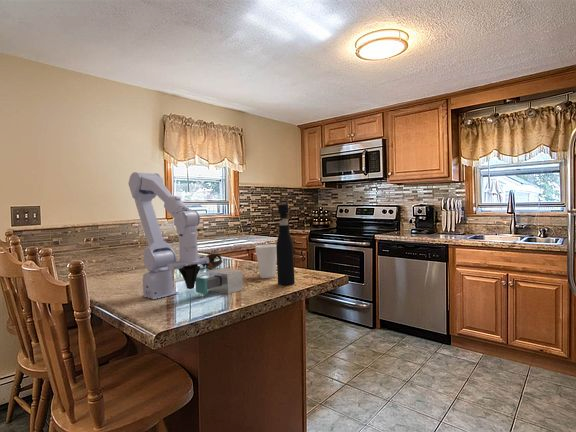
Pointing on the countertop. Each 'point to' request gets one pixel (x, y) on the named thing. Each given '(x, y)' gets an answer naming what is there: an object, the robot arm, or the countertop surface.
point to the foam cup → (266, 260)
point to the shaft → (207, 283)
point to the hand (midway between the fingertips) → (190, 288)
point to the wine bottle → (284, 250)
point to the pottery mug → (212, 261)
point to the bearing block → (228, 280)
